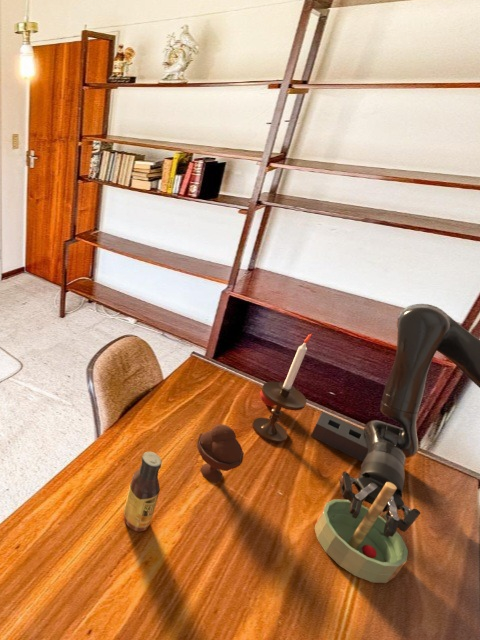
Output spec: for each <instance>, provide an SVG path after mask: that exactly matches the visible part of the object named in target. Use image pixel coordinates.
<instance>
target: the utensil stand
mask: <svg viewBox="0 0 480 640" xmlns="http://www.w3.org/2000/svg"><path fill="white" fill-rule="evenodd" d="M310 437H311V438H314V439H316V440H318V441H320V442H322V443H324V444H326V445H327V446H329V447H331V448H333V449H335V450H337V451H339V452H340V453H341V452H342V453H344V454H345V455H348V456H349V457H352V458H353V459H356V460H357V461H359V462H362V463H363V461H364V459H365V458H366V454H367V451H368V448H367V445H366V442H365V439H364V429H362V428H360V427H356V426H355V425H354V424H353V425H352V424H350V423H349V422H346V421H344V420H342V419H340V418H337V417H336V416H334V415H331V414H328V413H326V412H325V411H321V413H320V415H319V417H318V419H317V421H316V423H315V425H314V428H313V429H312V432H311V434H310Z"/></svg>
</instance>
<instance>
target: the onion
mask: <svg viewBox="0 0 480 640" xmlns="http://www.w3.org/2000/svg"><path fill="white" fill-rule="evenodd" d="M259 398H260V399H261V401H262V402H263V404H264V405H265V406H267V407H276V405H275V404H273V403H272V402H270V401H269V400H268V399H267V398H266V397H265V396H264V395H263V393H262V389H261V390H260V391H259Z"/></svg>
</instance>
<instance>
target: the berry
mask: <svg viewBox="0 0 480 640" xmlns="http://www.w3.org/2000/svg"><path fill="white" fill-rule="evenodd" d="M362 551H363V553H364V555H365V556H367V557H369V558H375V557H376V556H377V553H376V550H375V549H374V548H373V547H372V546H369V545H364V546H363V547H362Z"/></svg>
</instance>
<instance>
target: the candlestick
mask: <svg viewBox="0 0 480 640" xmlns="http://www.w3.org/2000/svg"><path fill="white" fill-rule="evenodd" d="M312 335H313V333H310V334H308V335H307V337H306V338H305V339H304V340H303V341H304V342H303V344H301V345H298V348H297V350H296V353H295V356H294V358H293V360H292V363H291V365H290V368H289V370H288V372H287V375H286V378H285V380H284V381H273V380H271V381H266V382H265V383H263V385H262V386H261V387H262V388H261V390H262V393H263V395H264V396H265V397H266V398H267V399H268V400H269V401H270V402H272V403H273V404H275V407H272V408H271V414H270V415H269V417H268V418H266V417H257V418H255V419H254V420H253V421H252V424H251V427H252V430H253V431H254V432H255V434H256V435H258V437H260V438H262V439H264V440H265V441H267V442H270V443H275V444H282V443H284V442H286V440H287V438H288V432H287V430H286V429H285V427H283V426H282V425H281V424H280V423H279V421H280V417H281V416H283V412H282V409H284V410H288V411H301V410H303V409H304V408H305V407H306V406H307V398H306V396H305V395H304V394H303V393H302V392H301V390H298V389H297V388H295V386H294V385H293V384H294V382H295V379H296V377H297V374H298V373H299V369H300V367H301V365H302V362H303V360H304V358H305V355H306V353H307V351H308V348H307V343H308V342H309V341H310V339H311V336H312Z"/></svg>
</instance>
